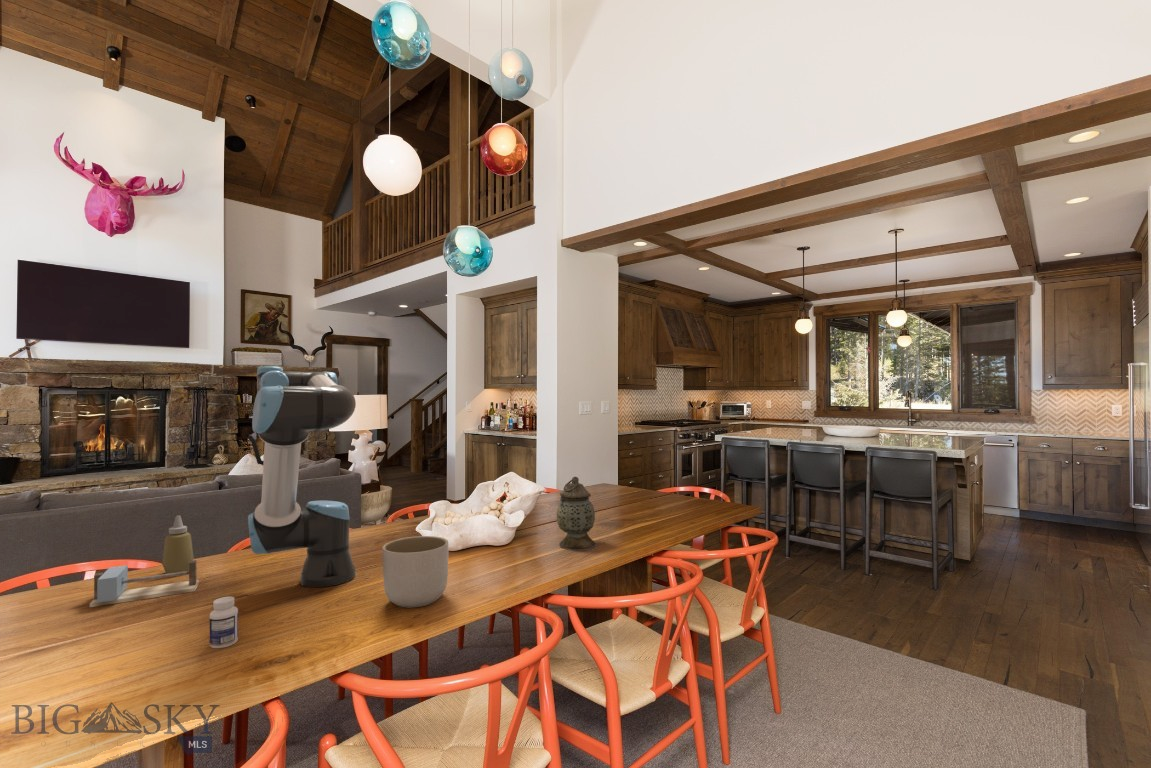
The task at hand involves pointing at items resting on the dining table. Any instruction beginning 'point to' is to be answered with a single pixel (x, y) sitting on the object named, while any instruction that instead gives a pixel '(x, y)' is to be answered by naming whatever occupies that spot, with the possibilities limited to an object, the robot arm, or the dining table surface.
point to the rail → (152, 587)
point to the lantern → (575, 516)
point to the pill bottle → (223, 623)
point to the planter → (415, 570)
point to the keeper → (112, 583)
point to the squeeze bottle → (177, 548)
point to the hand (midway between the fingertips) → (270, 485)
